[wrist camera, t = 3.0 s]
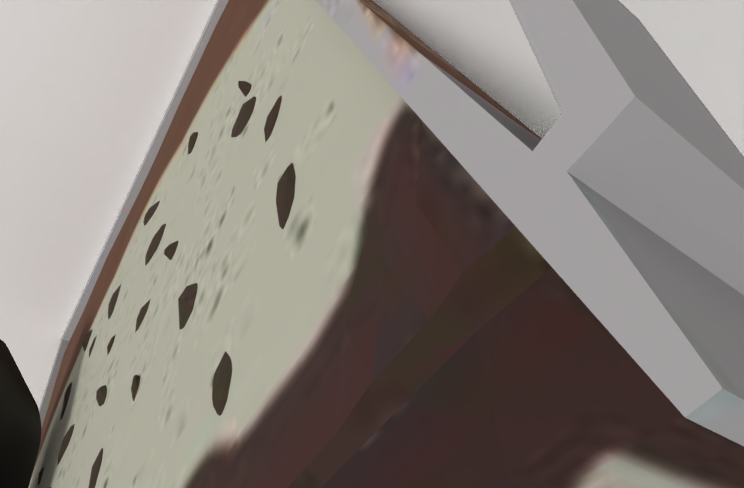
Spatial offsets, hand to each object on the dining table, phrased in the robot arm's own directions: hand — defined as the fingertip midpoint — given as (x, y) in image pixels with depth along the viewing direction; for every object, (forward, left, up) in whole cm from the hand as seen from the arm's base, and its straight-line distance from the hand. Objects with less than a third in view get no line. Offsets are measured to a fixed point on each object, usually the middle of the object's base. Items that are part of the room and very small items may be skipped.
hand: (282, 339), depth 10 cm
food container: (0, 0, -4) cm, 4 cm away
